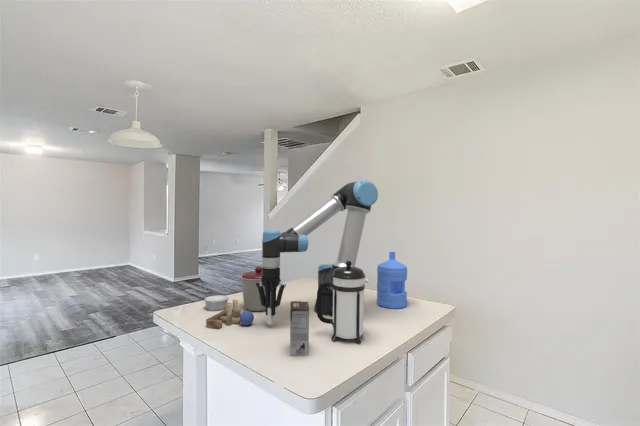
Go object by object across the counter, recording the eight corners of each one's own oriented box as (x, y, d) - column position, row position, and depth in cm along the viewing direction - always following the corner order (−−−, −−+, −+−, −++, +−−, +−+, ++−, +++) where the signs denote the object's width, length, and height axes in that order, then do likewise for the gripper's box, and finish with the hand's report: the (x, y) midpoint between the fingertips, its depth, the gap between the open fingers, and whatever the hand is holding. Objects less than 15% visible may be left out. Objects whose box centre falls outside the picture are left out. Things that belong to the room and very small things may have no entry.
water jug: (371, 305, 167) (371, 252, 167) (385, 299, 179) (386, 249, 179) (398, 311, 157) (398, 255, 157) (411, 304, 169) (412, 252, 169)
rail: (240, 316, 147) (240, 309, 147) (219, 329, 130) (219, 322, 130) (227, 314, 148) (227, 308, 148) (204, 327, 132) (204, 320, 132)
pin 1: (232, 323, 137) (233, 303, 137) (229, 325, 134) (230, 304, 134) (227, 323, 137) (228, 302, 137) (224, 325, 135) (225, 304, 135)
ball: (242, 318, 140) (253, 324, 138) (235, 323, 134) (246, 330, 132) (246, 306, 139) (258, 312, 137) (239, 310, 133) (251, 317, 132)
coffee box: (290, 345, 116) (290, 301, 116) (307, 344, 116) (308, 300, 116) (289, 356, 107) (290, 308, 107) (308, 355, 107) (309, 308, 107)
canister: (271, 301, 171) (272, 263, 171) (280, 312, 154) (280, 268, 154) (237, 305, 164) (238, 264, 164) (242, 315, 147) (242, 270, 147)
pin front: (240, 317, 138) (222, 315, 140) (238, 319, 136) (219, 317, 138) (241, 322, 138) (223, 320, 141) (238, 325, 136) (220, 322, 138)
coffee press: (352, 327, 134) (352, 256, 134) (374, 341, 120) (375, 262, 120) (315, 334, 126) (316, 259, 126) (335, 349, 112) (336, 265, 112)
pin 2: (238, 320, 141) (239, 300, 141) (236, 321, 139) (236, 301, 139) (234, 319, 142) (234, 299, 142) (231, 321, 140) (231, 301, 140)
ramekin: (200, 308, 158) (200, 297, 158) (220, 303, 167) (221, 293, 167) (211, 313, 151) (211, 302, 151) (232, 308, 159) (232, 297, 159)
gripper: (288, 266, 135) (288, 321, 135) (261, 264, 138) (260, 318, 139) (281, 269, 128) (281, 327, 128) (252, 267, 131) (252, 324, 131)
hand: (270, 322), depth 133 cm, fingers closed
